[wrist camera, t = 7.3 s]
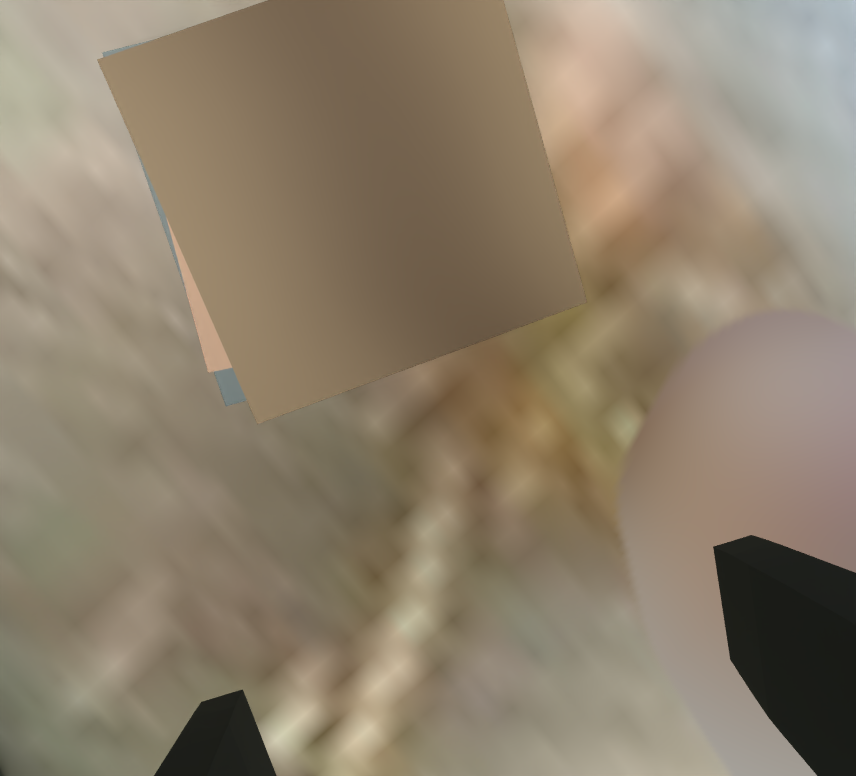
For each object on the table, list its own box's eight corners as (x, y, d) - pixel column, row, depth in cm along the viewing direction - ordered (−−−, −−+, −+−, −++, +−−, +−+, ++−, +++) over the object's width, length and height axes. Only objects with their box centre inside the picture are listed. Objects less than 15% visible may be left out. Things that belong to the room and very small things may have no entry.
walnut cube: (275, 346, 16) (257, 424, 11) (171, 96, 14) (97, 59, 9) (505, 261, 16) (587, 302, 11) (426, 7, 14) (482, -74, 10)
